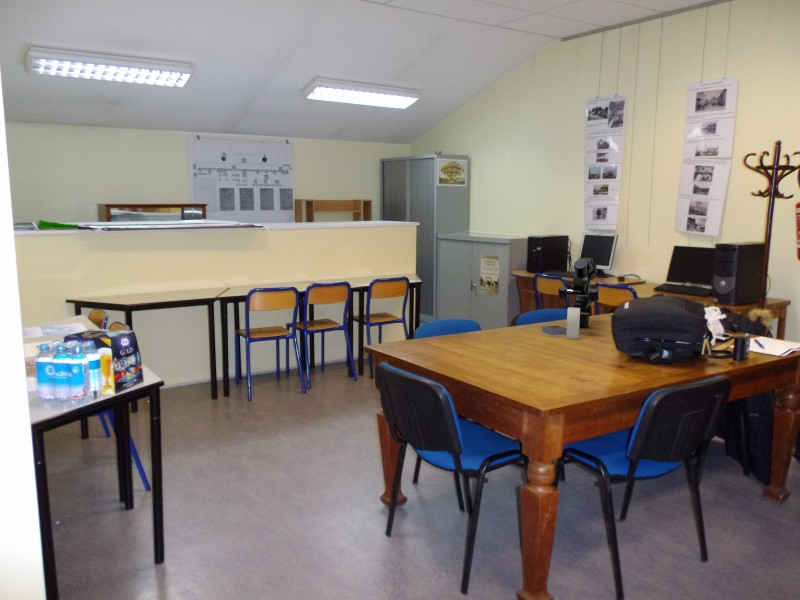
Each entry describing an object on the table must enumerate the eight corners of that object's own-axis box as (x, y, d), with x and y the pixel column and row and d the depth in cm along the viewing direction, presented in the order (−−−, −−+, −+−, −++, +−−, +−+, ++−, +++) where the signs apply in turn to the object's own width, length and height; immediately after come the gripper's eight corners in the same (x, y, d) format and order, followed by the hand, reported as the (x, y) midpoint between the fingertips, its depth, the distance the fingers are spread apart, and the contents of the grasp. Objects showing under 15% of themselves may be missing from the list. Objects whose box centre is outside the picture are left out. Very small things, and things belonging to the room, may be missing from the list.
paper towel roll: (574, 336, 313) (575, 307, 311) (581, 338, 308) (582, 308, 306) (564, 337, 311) (565, 307, 309) (570, 339, 306) (572, 309, 304)
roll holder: (557, 332, 323) (557, 325, 322) (567, 335, 314) (567, 328, 314) (541, 333, 320) (541, 325, 320) (550, 336, 312) (551, 329, 311)
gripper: (559, 270, 321) (554, 295, 312) (599, 272, 314) (595, 298, 305) (561, 284, 329) (556, 309, 321) (600, 286, 322) (596, 312, 313)
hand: (576, 307), depth 315 cm, fingers open, 9 cm apart
